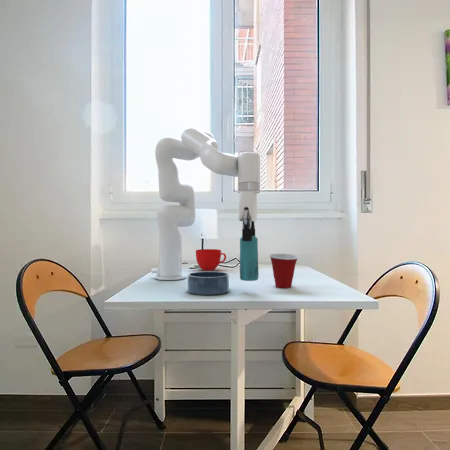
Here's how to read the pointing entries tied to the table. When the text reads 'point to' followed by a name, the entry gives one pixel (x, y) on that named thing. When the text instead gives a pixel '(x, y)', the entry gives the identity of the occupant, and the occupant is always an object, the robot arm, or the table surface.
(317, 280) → the table surface
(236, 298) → the table surface
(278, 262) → the plastic cup
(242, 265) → the beverage bottle
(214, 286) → the blue-grey round bowl
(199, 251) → the ceramic cup
